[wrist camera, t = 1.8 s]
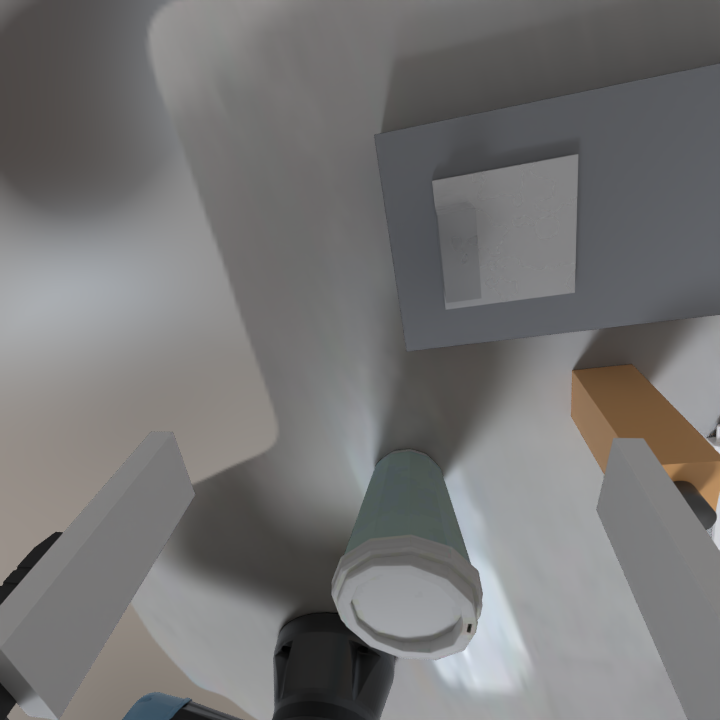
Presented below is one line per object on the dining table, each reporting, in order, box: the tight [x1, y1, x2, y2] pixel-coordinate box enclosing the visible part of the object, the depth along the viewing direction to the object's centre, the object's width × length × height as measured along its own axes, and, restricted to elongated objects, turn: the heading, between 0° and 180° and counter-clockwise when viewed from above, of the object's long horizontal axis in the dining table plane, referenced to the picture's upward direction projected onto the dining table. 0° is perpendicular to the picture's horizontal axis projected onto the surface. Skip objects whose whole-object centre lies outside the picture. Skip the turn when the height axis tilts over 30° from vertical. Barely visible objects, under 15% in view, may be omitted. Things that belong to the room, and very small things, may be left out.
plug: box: [571, 364, 720, 530], centre depth 30 cm, size 4×4×14 cm
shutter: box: [432, 154, 578, 310], centre depth 26 cm, size 8×8×4 cm
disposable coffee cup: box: [331, 449, 483, 660], centre depth 36 cm, size 11×11×15 cm
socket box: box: [374, 63, 720, 351], centre depth 29 cm, size 22×14×5 cm, turn 100°
